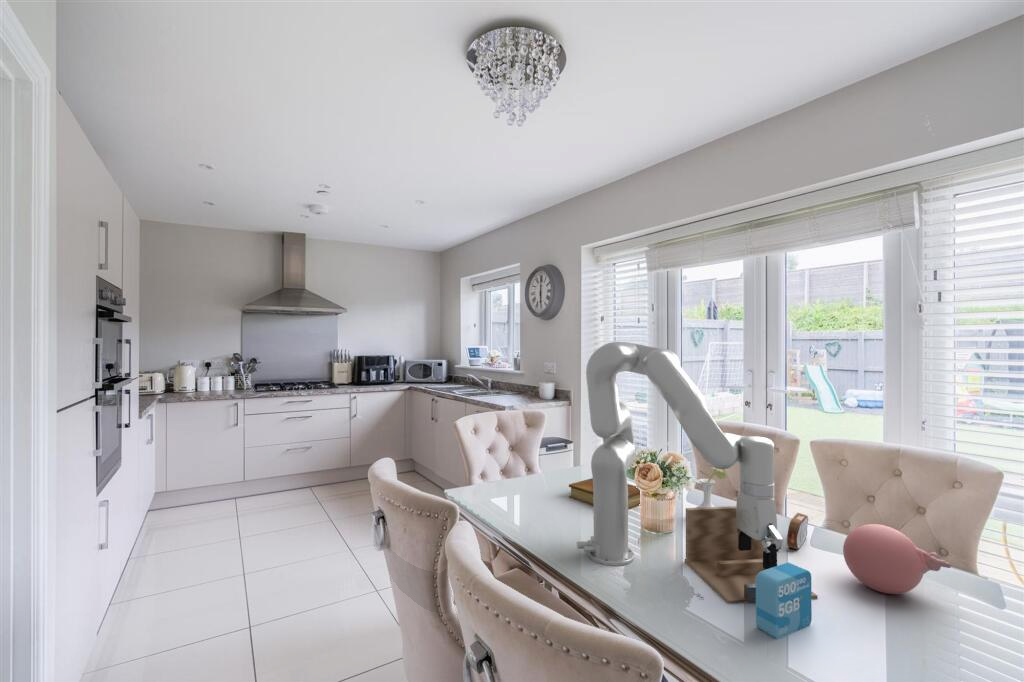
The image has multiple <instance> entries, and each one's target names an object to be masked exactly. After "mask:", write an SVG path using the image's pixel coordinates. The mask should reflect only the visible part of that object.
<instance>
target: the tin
mask: <svg viewBox="0 0 1024 682" xmlns="http://www.w3.org/2000/svg"><path fill="white" fill-rule="evenodd" d="M808 522H809V517H808V515H807V514H803V513H800V512H796V513H795V515H794V516H793V517H792V518H791V519H790V521H789V524H788V528H787V535H786V538H787V539H786V540H787V542H786V545H787V547H788V548H790V549H794V550H796V551H797V550H800V548H801V547H802V546H803V545H804V543H805V542H806V539H807V536H808Z"/></svg>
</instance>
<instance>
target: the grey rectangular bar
mask: <svg viewBox="0 0 1024 682" xmlns="http://www.w3.org/2000/svg"><path fill="white" fill-rule="evenodd" d="M744 598H745V599H747V600H748V601H754V600H756V584H744Z"/></svg>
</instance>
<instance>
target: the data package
mask: <svg viewBox="0 0 1024 682" xmlns="http://www.w3.org/2000/svg"><path fill="white" fill-rule="evenodd" d="M811 591H812V573H811V572H810V571H809V570H807V569H805V568H802V567H800V566H798V565H796V564H793V563H791V562H785V563H782V564H779V565H778V564H777V566H775V567H772V568H769V569H766V570H763V571H760V572H759V573H758V574H757V576H756V602H755V625H756V627H757V628H758V629H759V628H760V629H759V630H761V629H762V630H763V632H764V631H765V632H764V633H766V634H768V635H769V634H770V636H771V637H773V638H774V637H775V638H774V639H776V640H779V638H780V639H782V638H784V637H786V636H789V635H791V634H793V633H796V632H798V631H800V630H802V629H803V630H804V629H805V628H807V627H810V625H811V623H812V616H813V615H812V611H813V610H812V609H813V608H812V605H813V604H812V599H811ZM762 630H761V631H762Z"/></svg>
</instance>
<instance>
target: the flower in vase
mask: <svg viewBox="0 0 1024 682" xmlns="http://www.w3.org/2000/svg"><path fill="white" fill-rule="evenodd" d="M707 464H708V463H707ZM708 466H709V467H710V470H711V469H712V470H713V473H712V475H711V476H710V475H709V473H705V472H703V471H702V470H699V472H700V473H701V474H702V475H705V476H707V477H709V478H701V479H699V482H700V484H701V486H702V491H703V500H702V502H701V504H699V505H697V506H696V507H695V508H701V507H716V506H715V505H714V504H713V503H712V489H713V486H714V485H715V484H716V481H715V480H714V479H712V478H713V476H716V477H717V478H718V479H725V478H728V477H729V475H728V474H727V473H726V472H725V471H728V470H730V469H731V468H728V469H717V468H714V467H712V466H711V465H710V464H708Z"/></svg>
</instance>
